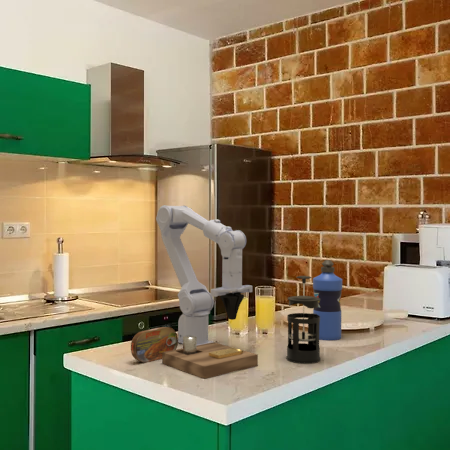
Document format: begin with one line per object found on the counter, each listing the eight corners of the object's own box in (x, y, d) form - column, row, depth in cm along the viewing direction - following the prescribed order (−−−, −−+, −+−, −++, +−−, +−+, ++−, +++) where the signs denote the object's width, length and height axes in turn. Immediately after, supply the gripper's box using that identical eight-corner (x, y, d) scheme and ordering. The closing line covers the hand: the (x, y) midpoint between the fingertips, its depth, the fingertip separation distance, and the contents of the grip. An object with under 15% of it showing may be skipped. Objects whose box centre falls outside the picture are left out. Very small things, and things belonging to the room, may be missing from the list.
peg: (180, 362, 153) (180, 336, 153) (190, 360, 155) (190, 334, 155) (188, 365, 150) (188, 339, 150) (199, 363, 153) (199, 337, 153)
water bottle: (338, 334, 190) (338, 259, 189) (344, 340, 180) (345, 261, 180) (310, 334, 189) (310, 258, 189) (315, 340, 180) (316, 261, 179)
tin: (135, 365, 150) (135, 333, 150) (128, 363, 152) (128, 331, 152) (178, 355, 161) (179, 325, 161) (171, 353, 163) (171, 323, 163)
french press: (309, 366, 150) (310, 279, 150) (278, 360, 156) (279, 276, 155) (329, 357, 160) (330, 275, 159) (299, 351, 165) (300, 272, 165)
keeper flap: (208, 355, 148) (208, 351, 148) (233, 350, 154) (233, 347, 154) (218, 358, 145) (218, 354, 145) (243, 353, 151) (243, 349, 151)
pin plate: (162, 363, 152) (162, 352, 152) (214, 352, 164) (214, 342, 164) (204, 378, 139) (204, 366, 138) (257, 365, 150) (257, 354, 150)
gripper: (222, 275, 157) (221, 324, 158) (259, 271, 167) (259, 318, 167) (206, 273, 163) (205, 320, 163) (243, 269, 172) (243, 314, 172)
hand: (231, 319), depth 165 cm, fingers closed
